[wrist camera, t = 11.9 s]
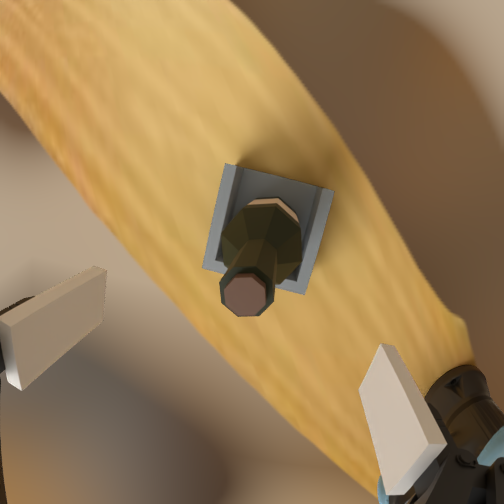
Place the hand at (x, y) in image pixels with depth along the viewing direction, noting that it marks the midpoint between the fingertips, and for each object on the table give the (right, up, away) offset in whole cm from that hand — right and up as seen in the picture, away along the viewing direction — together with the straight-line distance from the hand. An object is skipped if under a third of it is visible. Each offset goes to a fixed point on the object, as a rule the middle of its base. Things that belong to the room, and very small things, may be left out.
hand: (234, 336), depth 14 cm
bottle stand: (+3, +8, +34) cm, 36 cm away
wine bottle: (+3, +8, +34) cm, 35 cm away
